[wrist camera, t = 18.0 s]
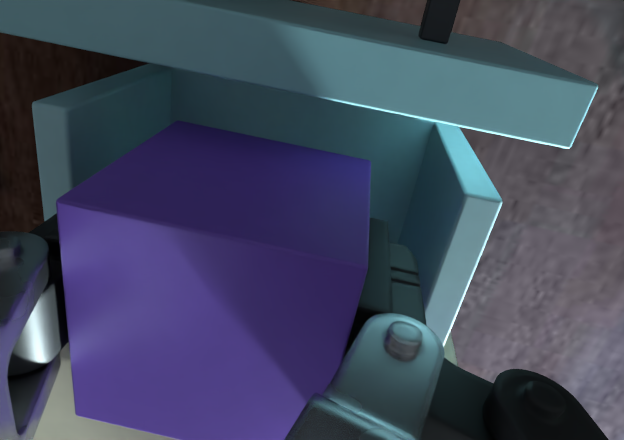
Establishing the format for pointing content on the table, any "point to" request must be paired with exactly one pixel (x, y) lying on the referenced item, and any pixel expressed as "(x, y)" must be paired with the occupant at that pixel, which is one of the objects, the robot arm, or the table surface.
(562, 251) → the table surface
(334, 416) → the robot arm
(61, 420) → the block
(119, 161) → the purple cube
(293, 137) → the drawer
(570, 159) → the table surface
